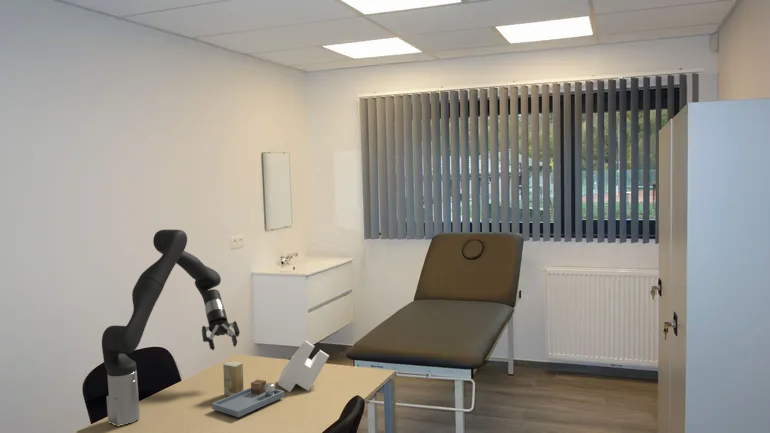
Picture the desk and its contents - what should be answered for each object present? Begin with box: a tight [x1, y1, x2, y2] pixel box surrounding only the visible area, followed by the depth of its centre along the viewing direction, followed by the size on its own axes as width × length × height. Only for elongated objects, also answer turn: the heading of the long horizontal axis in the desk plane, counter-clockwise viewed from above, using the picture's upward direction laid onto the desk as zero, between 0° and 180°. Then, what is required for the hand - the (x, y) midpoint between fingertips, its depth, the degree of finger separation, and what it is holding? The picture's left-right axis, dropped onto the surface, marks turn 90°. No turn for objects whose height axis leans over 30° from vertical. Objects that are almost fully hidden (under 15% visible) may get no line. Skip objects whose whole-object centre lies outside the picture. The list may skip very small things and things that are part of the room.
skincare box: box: [222, 361, 244, 397], centre depth 228 cm, size 6×4×12 cm
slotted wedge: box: [277, 340, 330, 393], centre depth 236 cm, size 14×11×18 cm
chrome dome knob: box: [265, 382, 276, 397], centre depth 221 cm, size 4×4×4 cm
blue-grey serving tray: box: [211, 387, 286, 419], centre depth 217 cm, size 22×14×3 cm, turn 144°
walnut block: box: [250, 379, 267, 395], centre depth 225 cm, size 4×4×4 cm
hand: (224, 347), depth 237 cm, fingers open, 8 cm apart
